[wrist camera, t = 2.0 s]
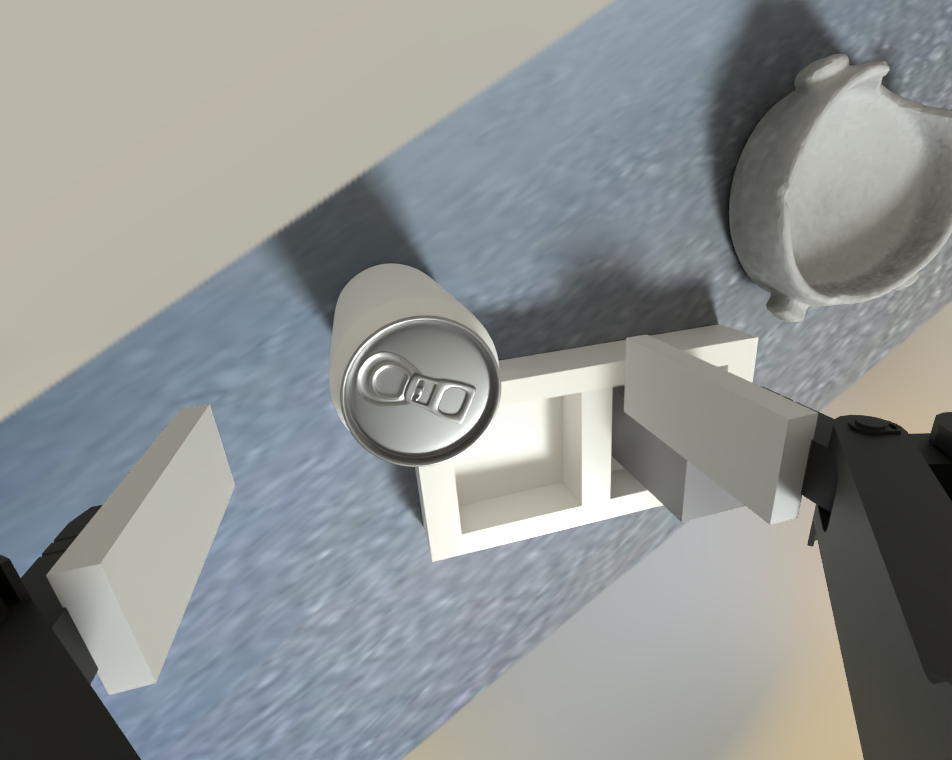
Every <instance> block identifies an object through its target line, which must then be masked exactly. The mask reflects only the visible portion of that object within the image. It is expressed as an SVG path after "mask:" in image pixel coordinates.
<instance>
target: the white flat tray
mask: <svg viewBox="0 0 952 760" xmlns="http://www.w3.org/2000/svg"><path fill="white" fill-rule="evenodd" d="M651 337H653V338H655V339H658V340H660V341H662V342H664V343H666V344H669V345H671V346H673V347H675V348H677V349H680V350H682V351H684V352H686V353H688V354H691V355H693V356H695V357H697V358H699V359H701V360H704V361H706V362H708V363H710V364H712V365H715V366H717V367H719V368H721V369H723V370H726V371H728V372H730V373H732V374H734V375H736V376H739V377H741V378H743V379H745V380H747V381H750V382H753V374H754V367H755V359H756V352H757V344H758V337H757V336H753V335H750V334H747V333H744V332H741V331H738V330H735V329H732V328H729V327H726V326H723V325H719V324H718V325H712V326H706V327H700V328H694V329H688V330H681V331H675V332H669V333H663V334H657V335H651ZM498 362H499V371H500V376H501V397H500V403H499V407H498V410H497V413H496V415H495V418H494V420H493V422H492V423H491V425H490V427H489V428H488V430H487V431H486V433H485V434H484V435H483V436H482V438H481V439H480V440H479V441H478V442H477V443H476V444H475V445H473V446H472V447H471V448H470V449H468V450H467V451H466V452H464V453H463V454H461V455H459V456H457V457H455V458H453V459H451V460H449V461H446V462H443V463H440V464H436V465H432V466H425V467H415V471H416V478H417V484H418V491H419V498H420V504H421V511H422V518H423V524H424V530H425V534H426V538H427V542H428V546H429V550H430V554H431V558H432V562H434V561H438V560H442V559H446V558H450V557H454V556H458V555H463V554H467V553H471V552H475V551H479V550H483V549H487V548H491V547H495V546H499V545H503V544H507V543H511V542H515V541H519V540H523V539H527V538H532V537H536V536H540V535H544V534H548V533H552V532H556V531H560V530H564V529H568V528H572V527H576V526H580V525H584V524H588V523H592V522H596V521H600V520H605V519H609V518H613V517H617V516H621V515H625V514H629V513H633V512H637V511H641V510H645V509H649V508H653V507H657V506H661V505H663V504H662V503H661V502H660V501H659V500H658V499H657V498H656V497H655V496H653V495H652V494H651V493H650V492H649V491H648V490H647V489H646V488H645V487H644V486H643V485H642V484H641V483H640V482H639V481H638V480H637V479H635V478H634V477H633V476H632V475H631V474H630V473H629V472H628V471H627V470H626V469H625V468H624V467H623V466H622V465H621V464H620V463H619V462H618V461H616V460H615V459H614V458H613V457H612V456H611V441H612V393H613V388H615V387H620V386H625V362H626V340H621V341H615V342H609V343H603V344H597V345H591V346H585V347H579V348H572V349H566V350H560V351H554V352H548V353H542V354H536V355H530V356H524V357H518V358H512V359H506V360H500V361H498Z"/></svg>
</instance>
